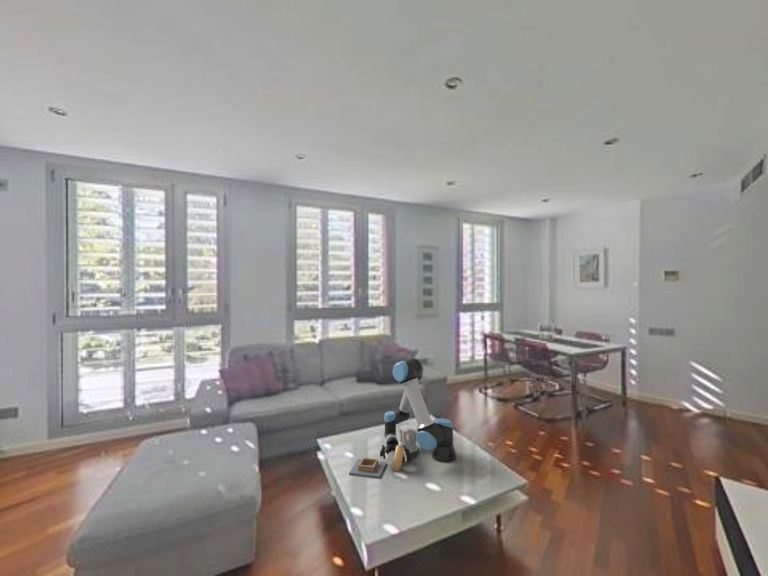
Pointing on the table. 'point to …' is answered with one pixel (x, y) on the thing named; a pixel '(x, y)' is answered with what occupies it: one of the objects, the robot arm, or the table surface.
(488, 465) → the table surface
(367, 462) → the dock
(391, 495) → the table surface
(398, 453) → the yellow bottle
